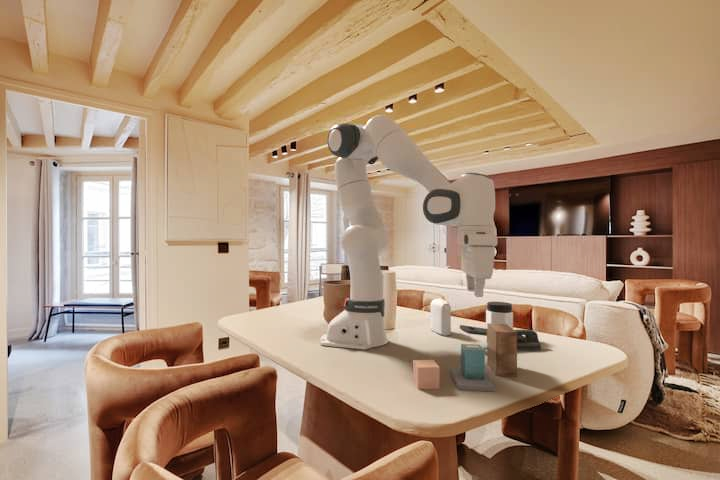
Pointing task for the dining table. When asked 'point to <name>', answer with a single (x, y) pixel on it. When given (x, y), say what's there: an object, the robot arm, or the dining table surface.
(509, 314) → the jar
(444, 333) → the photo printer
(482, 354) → the block
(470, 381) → the felt pad
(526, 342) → the zipper pull
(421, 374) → the block
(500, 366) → the block
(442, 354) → the dining table surface
